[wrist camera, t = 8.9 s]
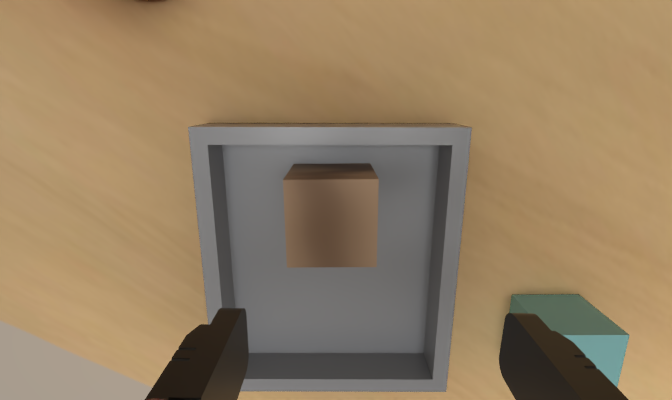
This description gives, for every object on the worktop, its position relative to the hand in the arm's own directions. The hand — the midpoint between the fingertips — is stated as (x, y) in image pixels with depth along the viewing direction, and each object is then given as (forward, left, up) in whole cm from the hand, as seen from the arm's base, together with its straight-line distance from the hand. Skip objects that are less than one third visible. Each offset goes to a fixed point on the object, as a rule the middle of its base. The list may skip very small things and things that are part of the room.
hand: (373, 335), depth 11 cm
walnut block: (+1, 0, -14) cm, 14 cm away
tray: (+2, +4, -15) cm, 15 cm away
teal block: (-14, +10, -15) cm, 23 cm away
